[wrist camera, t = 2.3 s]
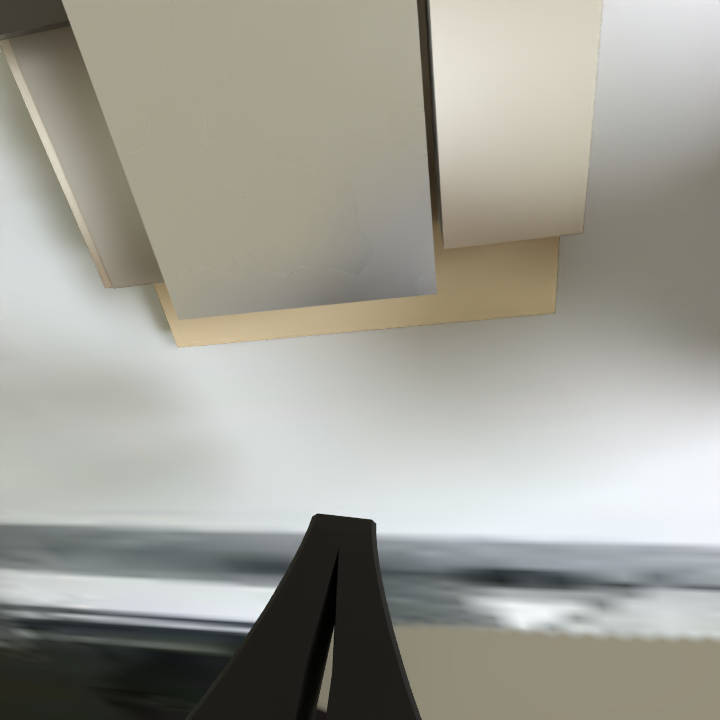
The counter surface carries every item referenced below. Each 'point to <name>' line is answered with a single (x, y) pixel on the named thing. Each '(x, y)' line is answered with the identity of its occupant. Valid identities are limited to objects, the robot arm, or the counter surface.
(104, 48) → the grey box
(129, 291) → the counter surface
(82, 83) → the stand
